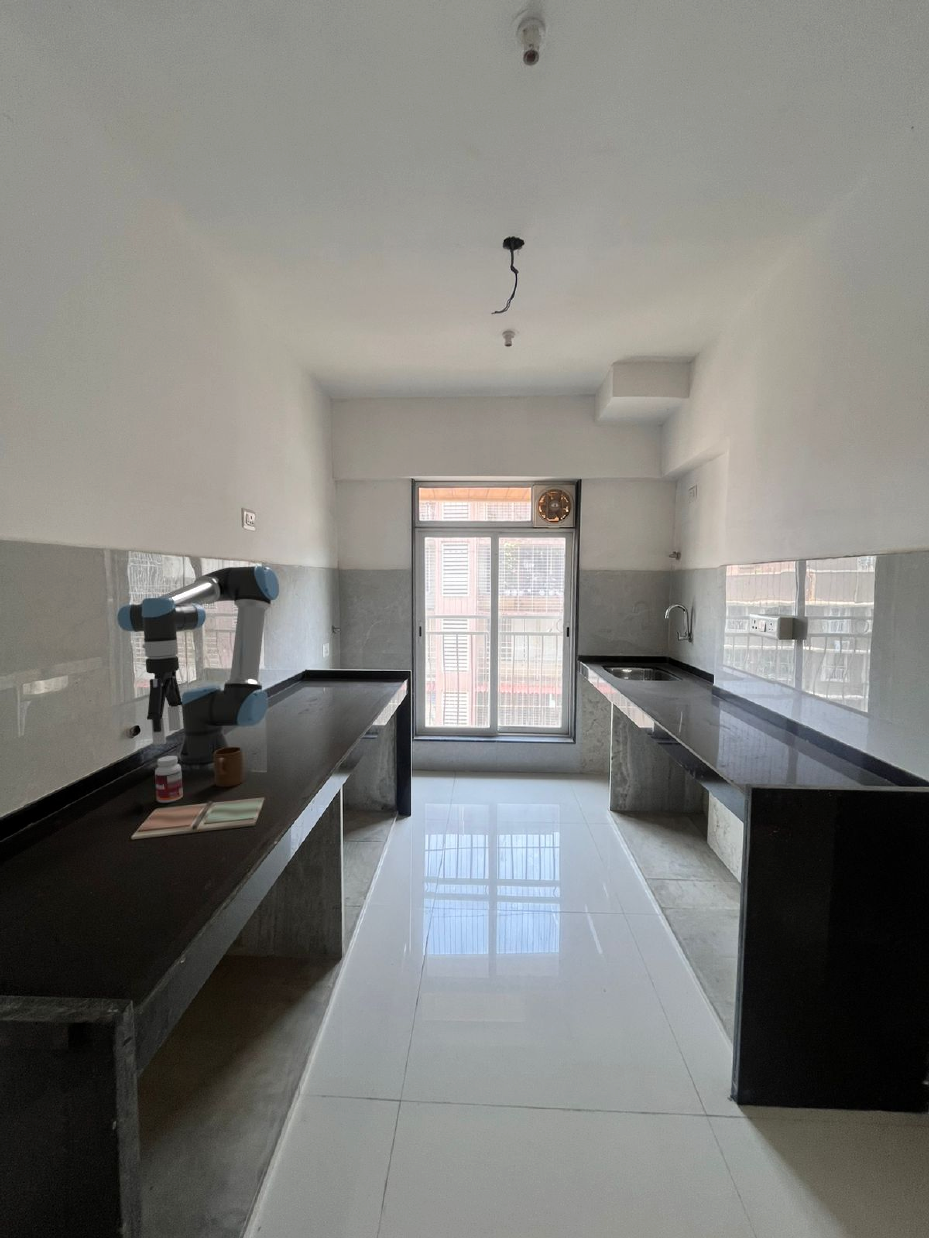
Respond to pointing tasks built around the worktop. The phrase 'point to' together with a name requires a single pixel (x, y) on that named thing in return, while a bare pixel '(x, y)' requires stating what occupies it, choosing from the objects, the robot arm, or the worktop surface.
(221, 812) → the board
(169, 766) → the pill bottle
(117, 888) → the worktop surface
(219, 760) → the mug
